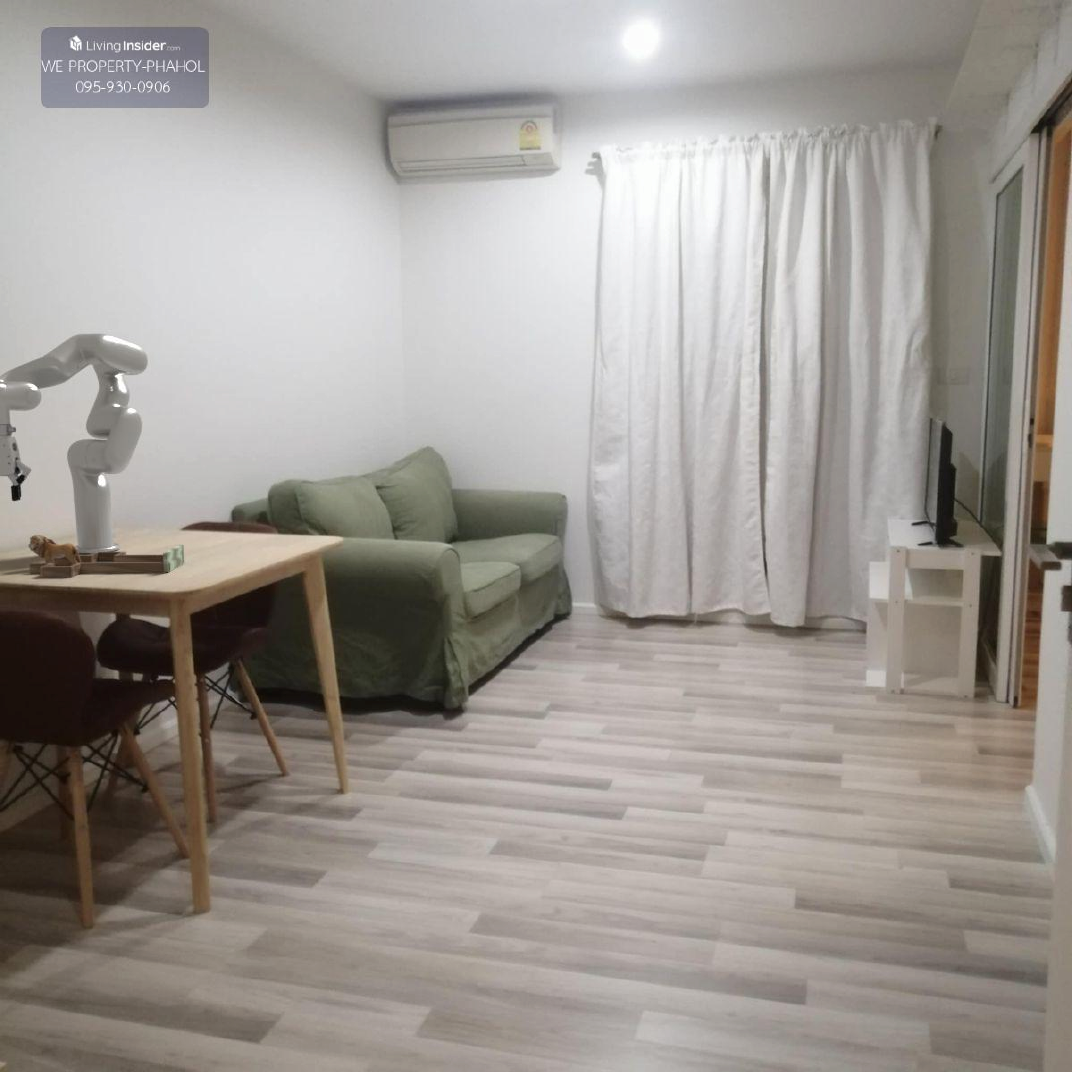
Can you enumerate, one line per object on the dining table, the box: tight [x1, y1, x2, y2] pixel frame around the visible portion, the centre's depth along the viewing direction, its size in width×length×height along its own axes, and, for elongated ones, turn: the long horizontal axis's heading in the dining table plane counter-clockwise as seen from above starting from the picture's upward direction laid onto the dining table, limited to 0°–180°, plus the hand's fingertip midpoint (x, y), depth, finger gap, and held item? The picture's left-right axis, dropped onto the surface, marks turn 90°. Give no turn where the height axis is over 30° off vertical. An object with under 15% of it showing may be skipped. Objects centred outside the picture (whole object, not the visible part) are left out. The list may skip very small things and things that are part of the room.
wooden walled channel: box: [29, 544, 185, 578], centre depth 268 cm, size 22×35×5 cm, turn 91°
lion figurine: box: [28, 534, 83, 566], centre depth 268 cm, size 15×5×9 cm, turn 91°
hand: (0, 500), depth 266 cm, fingers open, 7 cm apart
